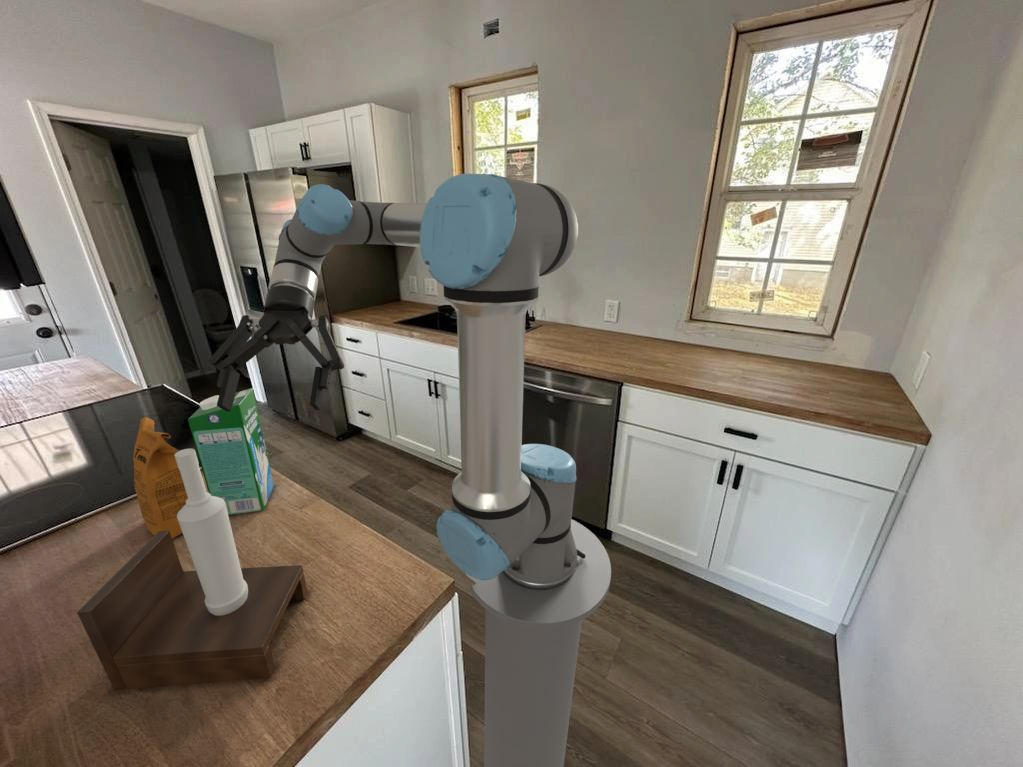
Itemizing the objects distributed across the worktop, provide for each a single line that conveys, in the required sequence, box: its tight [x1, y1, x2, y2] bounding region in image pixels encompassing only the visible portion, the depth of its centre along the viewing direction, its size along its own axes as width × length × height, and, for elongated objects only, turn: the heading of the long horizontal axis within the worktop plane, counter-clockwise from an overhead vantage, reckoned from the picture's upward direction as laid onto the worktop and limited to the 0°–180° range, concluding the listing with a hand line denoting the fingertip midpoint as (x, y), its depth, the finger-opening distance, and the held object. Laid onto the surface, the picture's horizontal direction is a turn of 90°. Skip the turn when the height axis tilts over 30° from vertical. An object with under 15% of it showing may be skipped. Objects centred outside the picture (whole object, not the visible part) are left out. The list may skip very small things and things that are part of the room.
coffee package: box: [133, 416, 188, 540], centre depth 80 cm, size 10×12×22 cm
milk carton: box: [187, 387, 275, 516], centre depth 86 cm, size 9×9×25 cm
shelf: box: [76, 531, 308, 691], centre depth 59 cm, size 20×14×14 cm
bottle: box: [175, 448, 248, 616], centre depth 55 cm, size 5×5×25 cm
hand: (270, 408), depth 65 cm, fingers open, 13 cm apart
